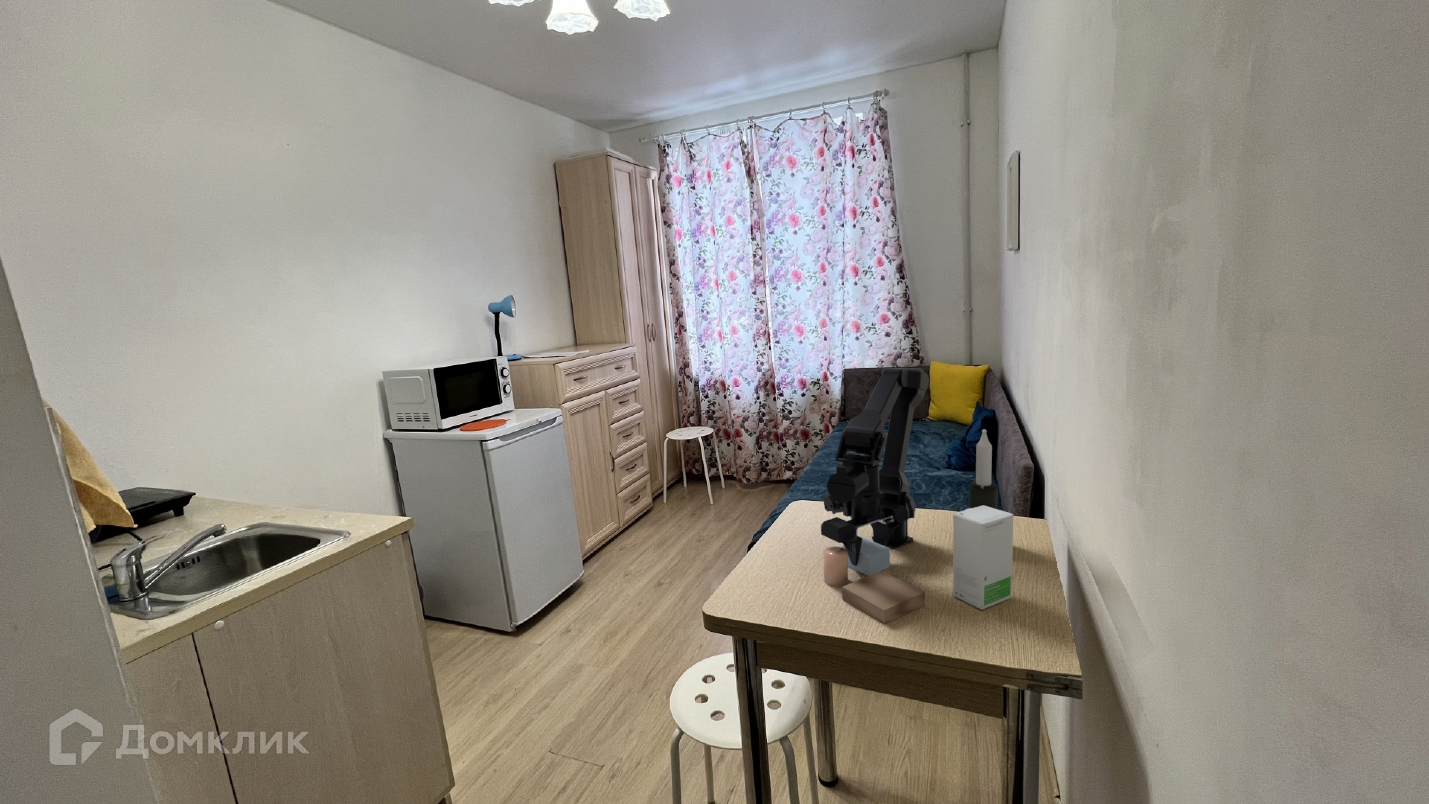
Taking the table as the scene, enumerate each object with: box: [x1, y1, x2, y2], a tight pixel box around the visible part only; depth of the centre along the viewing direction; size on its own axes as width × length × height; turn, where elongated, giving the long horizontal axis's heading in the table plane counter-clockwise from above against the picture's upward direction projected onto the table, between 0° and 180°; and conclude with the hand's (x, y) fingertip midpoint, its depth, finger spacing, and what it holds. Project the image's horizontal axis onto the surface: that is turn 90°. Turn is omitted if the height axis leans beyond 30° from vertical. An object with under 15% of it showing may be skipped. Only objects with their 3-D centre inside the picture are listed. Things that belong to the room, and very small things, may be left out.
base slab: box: [841, 570, 926, 625], centre depth 104 cm, size 10×10×2 cm
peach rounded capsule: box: [822, 546, 849, 588], centre depth 113 cm, size 5×5×6 cm
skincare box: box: [952, 505, 1015, 610], centre depth 103 cm, size 8×7×16 cm
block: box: [841, 537, 891, 577], centre depth 118 cm, size 6×7×4 cm
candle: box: [968, 429, 999, 510], centre depth 122 cm, size 5×5×25 cm
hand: (866, 560), depth 118 cm, fingers closed on block, 6 cm apart
